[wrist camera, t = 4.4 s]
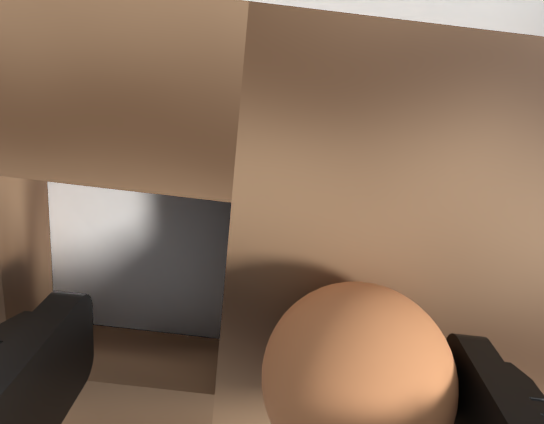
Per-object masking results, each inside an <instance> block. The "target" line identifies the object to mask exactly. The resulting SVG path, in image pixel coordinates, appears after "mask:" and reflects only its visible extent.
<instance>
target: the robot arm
mask: <svg viewBox="0 0 544 424" xmlns="http://www.w3.org/2000/svg"><path fill="white" fill-rule="evenodd" d="M446 340H447V343H448V345H449V347H450V349H451V351H452V355H453V358H454V361H455V364H456V369H457V375H458V383H459V399H458V409H457V413H456V417H455V421H454V424H544V395H543V393H542V392H541V391H540V389H539V388H538V386H537V385H536V384H535V382H534V381H533V380H532V379H531V378H530V377H529V376H527V375H526V374H525V373H524V372H522V371H521V370H520V369H518V368H517V367H516V366H515V365H513V364H512V363H511V362H504V360H503V359H502V357H501V356H500V355H499V353H498V352H497V350H496V349H495V347H494V346H493V344H492V343H491V342H490V340H489V339H488V338H487V337H483V336H473V335H464V334H454V333H451V334H449V335H448V337H447V338H446ZM93 358H94V341H93V313H92V300H91V297H90V296H89V295H88V294H80V293H70V292H60V291H53V292H51V293H50V294H49V295H48V296H47V297H46V298H45V299H44V300H43V301H42V302H41V303H40V304H39V305H38V306H37V307H36V308H35V309H34V310H33V311H32V312H31V311H23V312H21V313H19V314H17V315H15V316H14V317H12V318H10V319H8V320H6V321H4V322H2V323H1V324H0V424H61V423H62V422H63V420H64V419H65V417H66V415H67V414H68V412H69V410H70V409H71V407H72V405H73V404H74V402H75V400H76V399H77V397H78V395H79V394H80V392H81V390H82V389H83V387H84V385H85V384H86V382H87V380H88V378H89V375H90V372H91V369H92V365H93Z"/></svg>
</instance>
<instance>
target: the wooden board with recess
mask: <svg viewBox="0 0 544 424" xmlns="http://www.w3.org/2000/svg"><path fill="white" fill-rule="evenodd" d="M47 181H49V182H57V183H66V184H75V185H83V186H92V187H100V188H109V189H118V190H126V191H135V192H144V193H152V194H161V195H170V196H178V197H187V198H196V199H204V200H213V201H222V202H230V203H231V213H230V225H229V236H228V248H227V259H226V271H225V282H224V294H223V305H222V316H221V328H220V339H215V338H206V337H197V336H188V335H180V334H171V333H162V332H153V331H144V330H135V329H126V328H117V327H108V326H100V325H93V341H94V358H93V365H92V369H91V372H90V375H89V378H88V380H87V382H86V384H85V385H84V387H83V389H82V390H81V392H80V394H79V395H78V397H77V399H76V400H75V402H74V404H73V405H72V407H71V409H70V410H69V412H68V414H67V415H66V417H65V419H64V420H63V422H62V423H61V424H271V422H270V419H269V417H268V414H267V411H266V407H265V404H264V399H263V392H262V363H263V358H264V354H265V350H266V346H267V343H268V340H269V338H270V336H271V334H272V332H273V330H274V328H275V326H276V325H277V323H278V322H279V320H280V319H281V317H282V316H283V315H284V313H285V312H286V311H287V310H288V309H289V308H290V307H291V306H292V305H293V304H294V303H296V302H297V301H298V300H300V299H301V298H302V297H304V296H305V295H307V294H308V293H310V292H313V291H315V290H317V289H319V288H321V287H324V286H327V285H331V284H335V283H341V282H356V281H359V282H367V283H373V284H377V285H381V286H385V287H387V288H390V289H392V290H395V291H397V292H399V293H401V294H402V295H404V296H406V297H408V298H409V299H411V300H412V301H413V302H415V303H416V304H417V305H419V306H420V307H421V308H422V309H423V310H424V311H425V312H426V313H427V314H428V315H429V316H430V317H431V318H432V320H433V321H434V322H435V323H436V325H437V326H438V327H439V329H440V330H441V332H442V334H443V335H444V337H445V338H447V337H448V335H449V334H451V333H454V334H464V335H473V336H483V337H487V338H488V339H489V340H490V342H491V343H492V344H493V346H494V347H495V349H496V350H497V352H498V353H499V355H500V356H501V357H502V359H503V360H504V362H511V363H512V364H513V365H515V366H516V367H517V368H518V369H520V370H521V371H522V372H524V373H525V374H526V375H527V376H529V377H530V378H531V379H532V380H533V381H534V382H535V384H536V385H537V386H538V388H539V389H540V391H541V392H542V393H543V395H544V37H542V36H534V35H525V34H517V33H509V32H500V31H492V30H484V29H475V28H467V27H459V26H451V25H442V24H434V23H426V22H417V21H409V20H401V19H392V18H384V17H376V16H367V15H359V14H351V13H343V12H334V11H326V10H318V9H309V8H301V7H293V6H284V5H276V4H268V3H259V2H251V1H243V0H0V324H1V323H2V322H4V321H6V320H8V319H10V318H12V317H14V316H15V315H17V314H19V313H21V312H23V311H31V312H32V311H33V310H34V309H35V308H36V307H37V306H38V305H39V304H40V303H41V302H42V301H43V300H44V299H45V298H46V297H47V296H48V295H49V294H50V293H51V292H53V281H52V263H51V244H50V226H49V207H48V188H47Z"/></svg>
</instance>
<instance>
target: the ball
mask: <svg viewBox="0 0 544 424" xmlns="http://www.w3.org/2000/svg"><path fill="white" fill-rule="evenodd" d="M262 392H263V399H264V404H265V407H266V411H267V414H268V417H269V419H270V422H271V424H454V421H455V417H456V413H457V409H458V399H459V383H458V375H457V369H456V364H455V361H454V358H453V355H452V351H451V349H450V347H449V345H448V343H447V340H446V338H445V337H444V335H443V334H442V332H441V330H440V329H439V327H438V326H437V325H436V323H435V322H434V321H433V320H432V318H431V317H430V316H429V315H428V314H427V313H426V312H425V311H424V310H423V309H422V308H421V307H420V306H419V305H417V304H416V303H415V302H413V301H412V300H411V299H409V298H408V297H406V296H404V295H402V294H401V293H399V292H397V291H395V290H392V289H390V288H387V287H385V286H381V285H377V284H373V283H367V282H359V281H356V282H341V283H335V284H331V285H327V286H324V287H321V288H319V289H317V290H315V291H313V292H310V293H308V294H307V295H305V296H304V297H302V298H301V299H300V300H298V301H297V302H296V303H294V304H293V305H292V306H291V307H290V308H289V309H288V310H287V311H286V312H285V313H284V315H283V316H282V317H281V319H280V320H279V322H278V323H277V325H276V326H275V328H274V330H273V332H272V334H271V336H270V338H269V340H268V343H267V346H266V350H265V354H264V358H263V363H262Z"/></svg>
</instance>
